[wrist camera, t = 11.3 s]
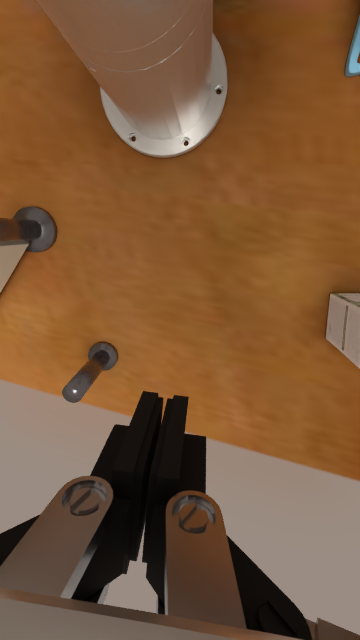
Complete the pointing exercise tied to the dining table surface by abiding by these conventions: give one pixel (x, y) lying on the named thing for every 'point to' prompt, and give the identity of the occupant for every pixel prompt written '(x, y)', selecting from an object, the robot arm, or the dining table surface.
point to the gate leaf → (10, 258)
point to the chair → (354, 54)
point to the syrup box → (345, 324)
